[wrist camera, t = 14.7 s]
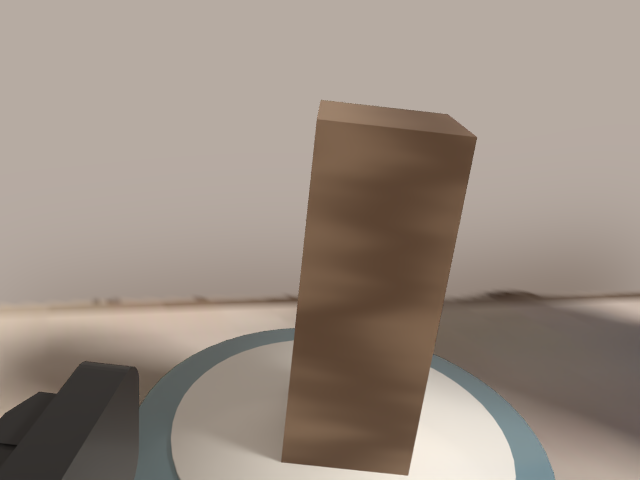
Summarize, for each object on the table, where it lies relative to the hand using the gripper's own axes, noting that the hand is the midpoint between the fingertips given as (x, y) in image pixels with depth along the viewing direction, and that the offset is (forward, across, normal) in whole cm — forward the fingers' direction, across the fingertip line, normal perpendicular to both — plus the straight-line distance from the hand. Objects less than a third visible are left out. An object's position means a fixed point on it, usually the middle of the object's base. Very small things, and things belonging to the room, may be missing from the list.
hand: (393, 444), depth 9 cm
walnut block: (+11, 0, +9) cm, 14 cm away
